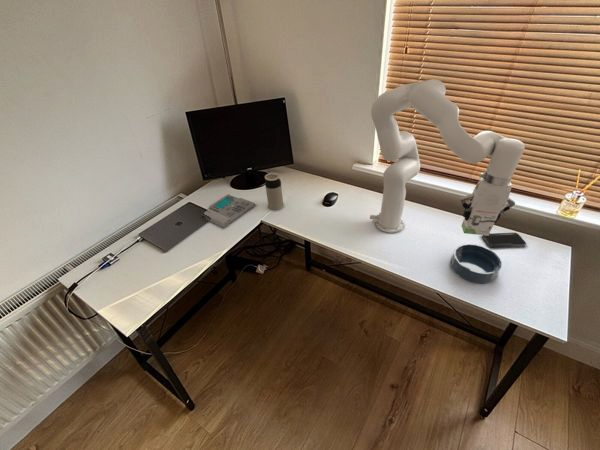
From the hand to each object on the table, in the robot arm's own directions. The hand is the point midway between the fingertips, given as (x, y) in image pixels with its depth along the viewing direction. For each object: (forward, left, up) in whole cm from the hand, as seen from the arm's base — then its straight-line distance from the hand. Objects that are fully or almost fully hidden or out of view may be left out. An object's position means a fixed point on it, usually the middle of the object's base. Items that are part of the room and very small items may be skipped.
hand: (479, 219), depth 109 cm
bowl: (+3, -3, -21) cm, 22 cm away
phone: (+19, +15, -21) cm, 32 cm away
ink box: (0, 0, -6) cm, 6 cm away
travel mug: (-86, +30, -22) cm, 94 cm away
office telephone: (-111, +23, -22) cm, 115 cm away
